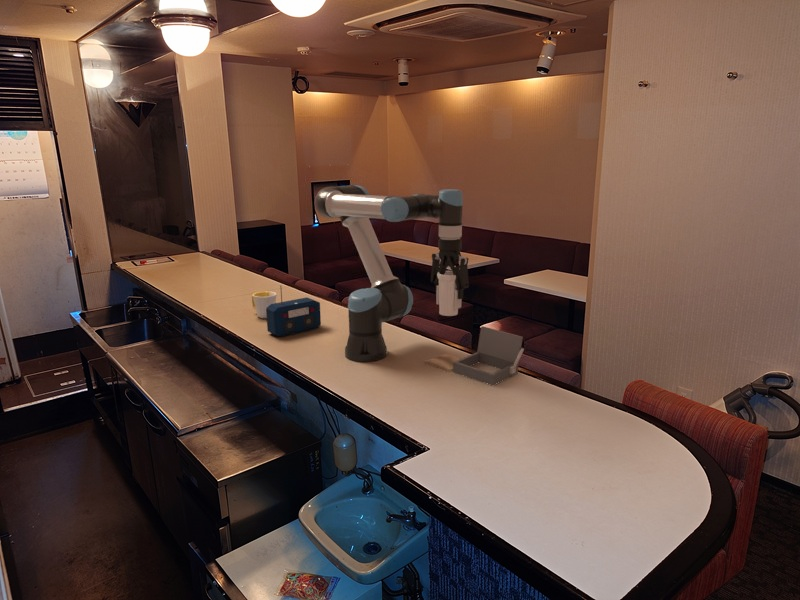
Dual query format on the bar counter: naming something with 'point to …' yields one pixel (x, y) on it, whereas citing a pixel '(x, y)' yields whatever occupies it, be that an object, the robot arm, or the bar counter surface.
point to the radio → (293, 316)
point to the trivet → (443, 361)
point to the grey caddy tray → (492, 356)
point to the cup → (447, 293)
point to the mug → (263, 302)
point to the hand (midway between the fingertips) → (448, 305)
